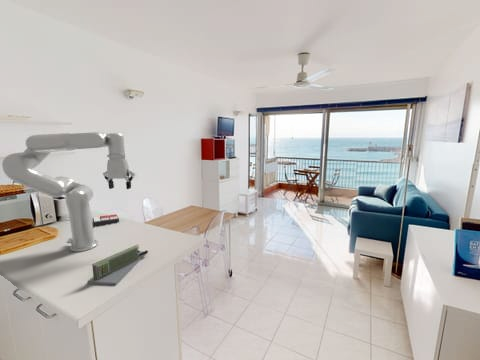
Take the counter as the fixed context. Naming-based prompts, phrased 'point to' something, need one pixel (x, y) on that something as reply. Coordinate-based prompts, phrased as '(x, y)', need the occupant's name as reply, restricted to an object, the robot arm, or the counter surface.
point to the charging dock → (115, 274)
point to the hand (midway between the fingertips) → (120, 188)
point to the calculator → (105, 220)
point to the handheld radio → (116, 261)
